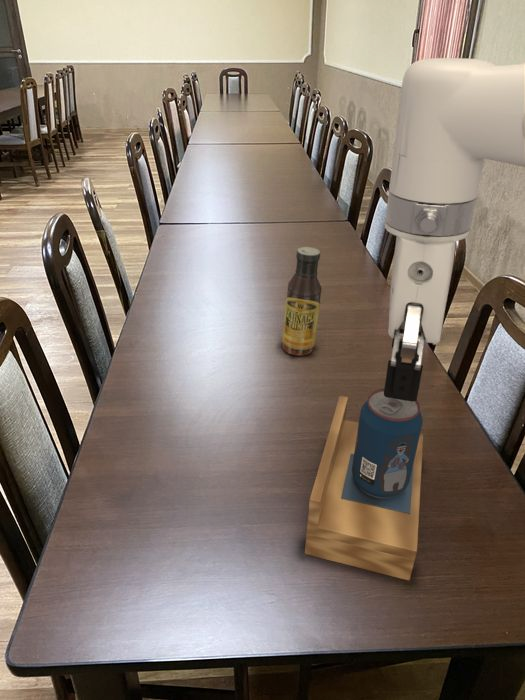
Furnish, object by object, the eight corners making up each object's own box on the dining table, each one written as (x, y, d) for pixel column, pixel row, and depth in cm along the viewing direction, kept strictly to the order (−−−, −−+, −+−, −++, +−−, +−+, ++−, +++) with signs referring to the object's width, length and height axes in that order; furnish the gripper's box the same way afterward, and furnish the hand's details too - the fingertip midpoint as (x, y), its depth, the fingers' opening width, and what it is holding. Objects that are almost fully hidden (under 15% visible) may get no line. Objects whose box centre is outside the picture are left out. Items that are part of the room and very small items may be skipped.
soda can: (371, 453, 70) (384, 377, 64) (418, 481, 66) (437, 403, 60) (339, 481, 66) (349, 402, 59) (387, 512, 62) (404, 431, 55)
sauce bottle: (278, 355, 100) (283, 254, 90) (285, 339, 106) (290, 242, 95) (313, 360, 99) (322, 258, 89) (318, 343, 104) (327, 246, 94)
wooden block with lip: (417, 461, 76) (428, 411, 72) (409, 580, 60) (423, 525, 55) (333, 444, 79) (339, 395, 74) (304, 554, 63) (309, 499, 58)
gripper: (477, 250, 40) (438, 428, 49) (468, 192, 55) (440, 338, 64) (376, 240, 42) (356, 413, 51) (393, 187, 57) (376, 330, 65)
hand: (403, 372), depth 57 cm, fingers open, 9 cm apart
